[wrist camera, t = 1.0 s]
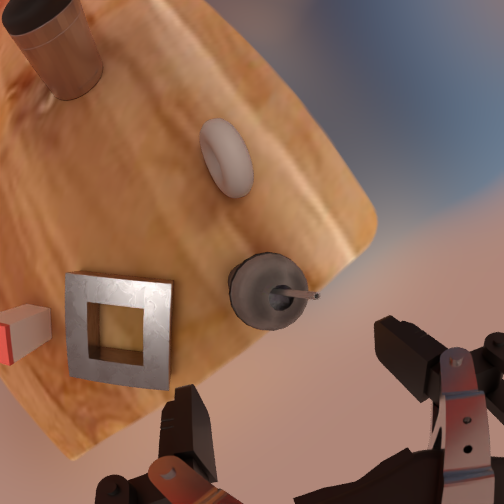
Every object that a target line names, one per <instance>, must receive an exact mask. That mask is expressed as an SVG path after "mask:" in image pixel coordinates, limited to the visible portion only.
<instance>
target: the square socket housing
mask: <svg viewBox="0 0 504 504" xmlns="http://www.w3.org/2000/svg"><path fill="white" fill-rule="evenodd" d="M173 289H174V280H166V279H155V278H145V277H134V276H124V275H115V274H106V273H97V272H88V271H75V272H68V273H66V276H65V324H66V343H67V356H68V366H69V375H70V376H71V377H76V378H81V379H86V380H91V381H97V382H103V383H109V384H115V385H122V386H129V387H137V388H146V389H156V390H167V391H169V385H170V377H171V333H172V308H173ZM99 303H101V304H109V305H117V306H126V307H135V308H144V325H143V352H139V351H130V350H122V349H115V348H108V347H101V346H100V335H99Z"/></svg>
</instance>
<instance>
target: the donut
mask: <svg viewBox="0 0 504 504" xmlns="http://www.w3.org/2000/svg"><path fill="white" fill-rule="evenodd" d="M200 146H201V150H202V154H203V157H204V159H205V162H206V165H207V167H208V169H209V172H210V174H211V176H212V178H213V180H214V181H215V183H216V184H217V186H218V187H219V189H220V190H221V191H222V192H223V193H224V194H225V195H227V196H228V197H231V198H240V197H243V196H245V195H247V194H248V193H249V191H250V190H251V187H252V185H253V180H254V173H253V166H252V161H251V158H250V155H249V152H248V149H247V147H246V145H245V143H244V141H243V139H242V137H241V136H240V134H239V132H238V131H237V130H236V129H235V128H234V126H233V125H232V124H231V123H229V122H228V121H226V120H224V119H221V118H215V119H210V120H208V121H206V122H205V123H204V124H203V126H202V128H201V130H200Z"/></svg>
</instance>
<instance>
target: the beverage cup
mask: <svg viewBox="0 0 504 504" xmlns="http://www.w3.org/2000/svg"><path fill="white" fill-rule="evenodd" d="M228 285H229V296H230V302H231V306H232V308H233V310H234V312H235V313H236V315H237V317H238V318H240V319H241V320H242V321H243V322H244V323H245V324H246V325H249V326H251V327H253V328H256V329H260V330H271V331H274V330H278V329H282V328H285V327H287V326H289V325H290V324H292V323H294V322H295V321H296V320H297V319H298V318H299V317H300V315H301V314H302V313H303V311H304V309H305V307H306V305H307V300H308V299H313V300H317V299H319V298H320V293H318V292H310V291H308V285H307V280H306V278H305V276H304V274H303V272H302V270H301V269H300V268H299V267H298V266H297V265H296V264H295V263H294V262H293V261H292V260H291V259H289V258H287V257H285V256H283V255H281V254H278V253H271V252H265V253H260V254H255V255H253V256H252V257H250V258H248V259H246V260H245V261H244V262H243V263H241V264H239V265H237V266H236V267H234V269H233V270H232V271H231V272H230V274H229V278H228Z"/></svg>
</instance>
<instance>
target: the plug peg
mask: <svg viewBox="0 0 504 504" xmlns="http://www.w3.org/2000/svg"><path fill="white" fill-rule="evenodd" d="M50 339H52V332H51V308H46V307H41V306H36V305H31V304H25V305H21V306H18V307H15V308H12V309H9V310H6V311H3V312H0V363H3V364H6V365H9V366H10V365H12V364H13V363H15V362H16V361H18V360H19V359H21V358H22V357H24V356H25V355H27V354H29V353H30V352H32V351H33V350H35V349H36V348H38V347H39V346H41V345H42V344H44V343H46V342H47V341H49V340H50Z"/></svg>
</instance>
